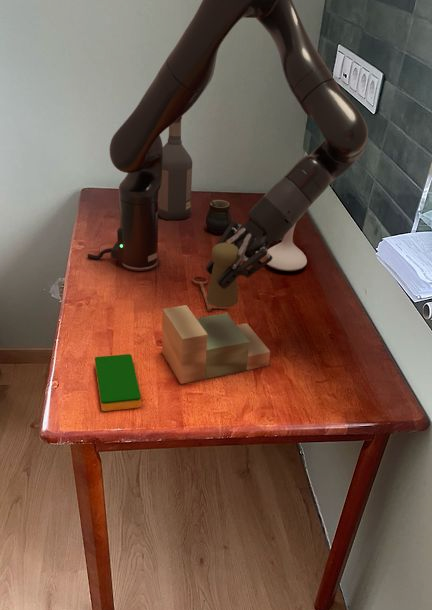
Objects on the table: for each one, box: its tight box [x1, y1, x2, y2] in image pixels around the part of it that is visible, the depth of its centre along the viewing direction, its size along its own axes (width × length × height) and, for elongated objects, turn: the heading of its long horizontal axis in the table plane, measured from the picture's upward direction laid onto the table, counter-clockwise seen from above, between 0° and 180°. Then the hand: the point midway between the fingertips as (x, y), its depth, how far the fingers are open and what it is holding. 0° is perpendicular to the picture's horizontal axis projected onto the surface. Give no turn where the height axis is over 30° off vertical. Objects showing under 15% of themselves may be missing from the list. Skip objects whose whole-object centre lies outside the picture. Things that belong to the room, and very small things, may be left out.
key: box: [191, 276, 227, 312], centre depth 146 cm, size 6×1×15 cm
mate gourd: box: [205, 199, 233, 235], centre depth 171 cm, size 7×8×10 cm
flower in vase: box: [266, 221, 308, 272], centre depth 153 cm, size 13×11×25 cm
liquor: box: [158, 115, 193, 221], centre depth 172 cm, size 9×9×30 cm
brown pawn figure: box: [207, 242, 239, 308], centre depth 114 cm, size 6×6×11 cm
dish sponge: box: [94, 353, 142, 412], centre depth 116 cm, size 7×14×2 cm, turn 13°
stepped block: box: [161, 304, 271, 385], centre depth 122 cm, size 19×11×10 cm, turn 113°
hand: (214, 278), depth 114 cm, fingers closed on brown pawn figure, 4 cm apart
